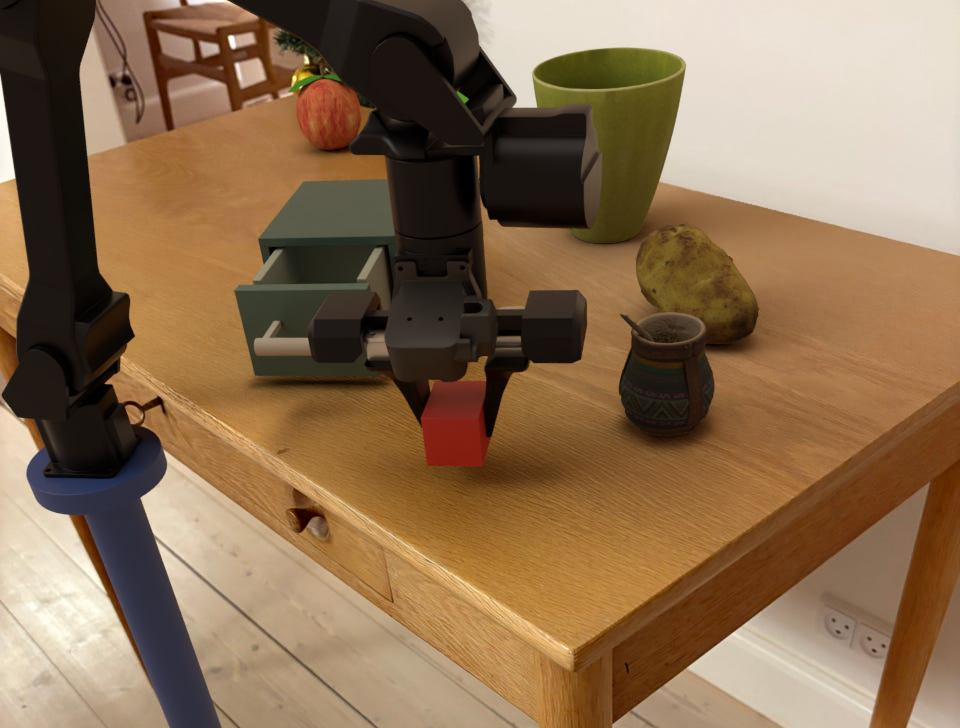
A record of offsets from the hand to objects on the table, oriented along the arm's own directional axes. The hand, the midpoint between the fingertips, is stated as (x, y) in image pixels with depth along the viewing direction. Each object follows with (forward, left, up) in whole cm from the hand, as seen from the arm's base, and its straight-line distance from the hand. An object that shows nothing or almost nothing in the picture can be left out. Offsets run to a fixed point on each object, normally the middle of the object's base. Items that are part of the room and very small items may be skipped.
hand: (459, 434), depth 78 cm
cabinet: (-15, +29, -3) cm, 33 cm away
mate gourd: (+15, +7, -3) cm, 17 cm away
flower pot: (+8, +47, -3) cm, 48 cm away
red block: (0, 0, -1) cm, 1 cm away
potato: (+17, +24, -3) cm, 30 cm away
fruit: (-31, +79, -3) cm, 85 cm away
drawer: (-15, +17, -2) cm, 23 cm away
